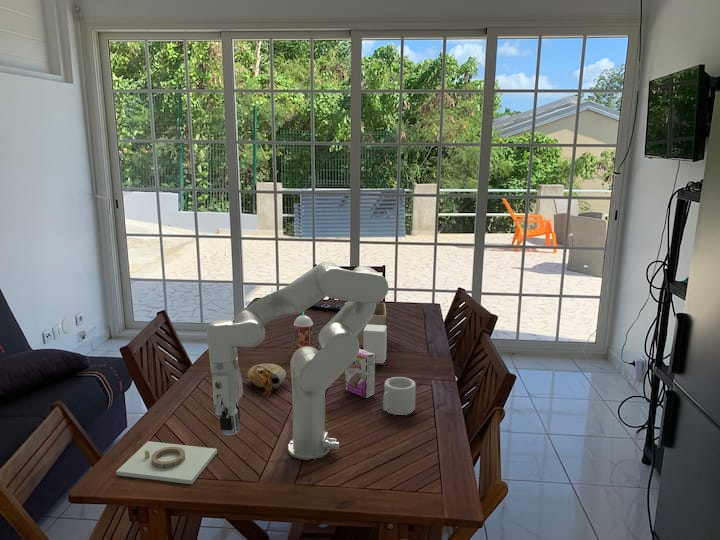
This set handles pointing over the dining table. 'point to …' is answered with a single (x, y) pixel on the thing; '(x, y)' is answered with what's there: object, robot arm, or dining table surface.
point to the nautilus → (267, 376)
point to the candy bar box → (361, 374)
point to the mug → (399, 396)
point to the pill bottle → (233, 421)
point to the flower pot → (375, 319)
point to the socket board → (168, 462)
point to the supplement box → (375, 341)
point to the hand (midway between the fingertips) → (230, 424)
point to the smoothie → (303, 331)
